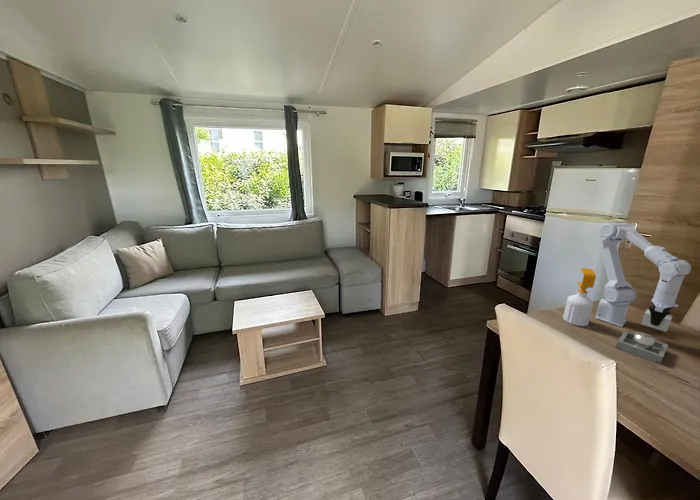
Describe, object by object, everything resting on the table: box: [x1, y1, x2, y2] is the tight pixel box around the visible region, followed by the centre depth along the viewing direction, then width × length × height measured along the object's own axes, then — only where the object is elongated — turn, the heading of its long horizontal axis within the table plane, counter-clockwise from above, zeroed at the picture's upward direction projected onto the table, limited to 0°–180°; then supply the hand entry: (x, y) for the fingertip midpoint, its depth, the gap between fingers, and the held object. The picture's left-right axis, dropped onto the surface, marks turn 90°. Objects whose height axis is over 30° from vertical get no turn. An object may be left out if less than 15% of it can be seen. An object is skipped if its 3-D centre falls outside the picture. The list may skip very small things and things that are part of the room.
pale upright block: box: [641, 308, 674, 333], centre depth 113 cm, size 7×5×5 cm
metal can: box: [631, 331, 656, 351], centre depth 108 cm, size 5×5×5 cm
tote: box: [615, 330, 669, 365], centre depth 109 cm, size 12×12×3 cm
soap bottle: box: [562, 267, 597, 327], centre depth 125 cm, size 9×9×25 cm
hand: (655, 322), depth 113 cm, fingers closed on pale upright block, 5 cm apart
